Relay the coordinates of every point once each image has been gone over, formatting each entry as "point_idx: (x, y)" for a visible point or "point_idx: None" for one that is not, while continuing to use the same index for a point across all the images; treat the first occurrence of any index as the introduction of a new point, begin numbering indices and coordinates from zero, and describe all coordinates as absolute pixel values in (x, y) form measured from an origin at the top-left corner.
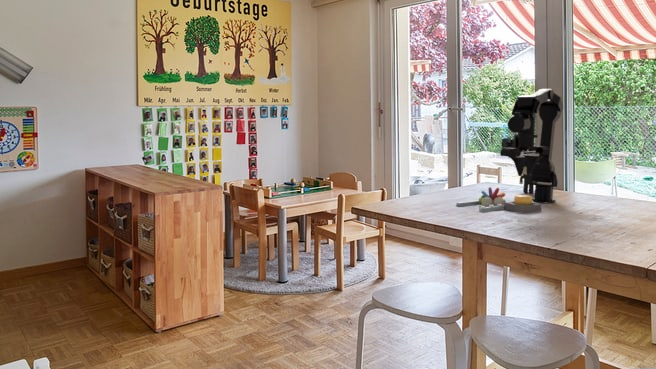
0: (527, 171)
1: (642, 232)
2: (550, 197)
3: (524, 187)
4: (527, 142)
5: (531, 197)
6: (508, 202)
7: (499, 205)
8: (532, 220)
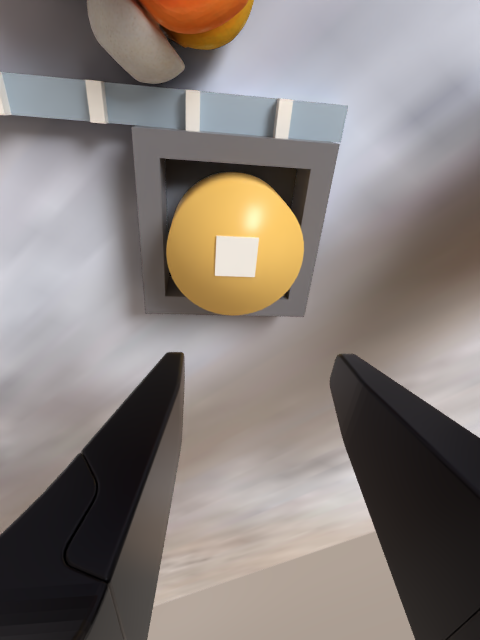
0: (353, 395)
1: (242, 567)
2: None
3: None
4: None
5: (253, 311)
6: (158, 155)
7: (90, 109)
8: (71, 406)
